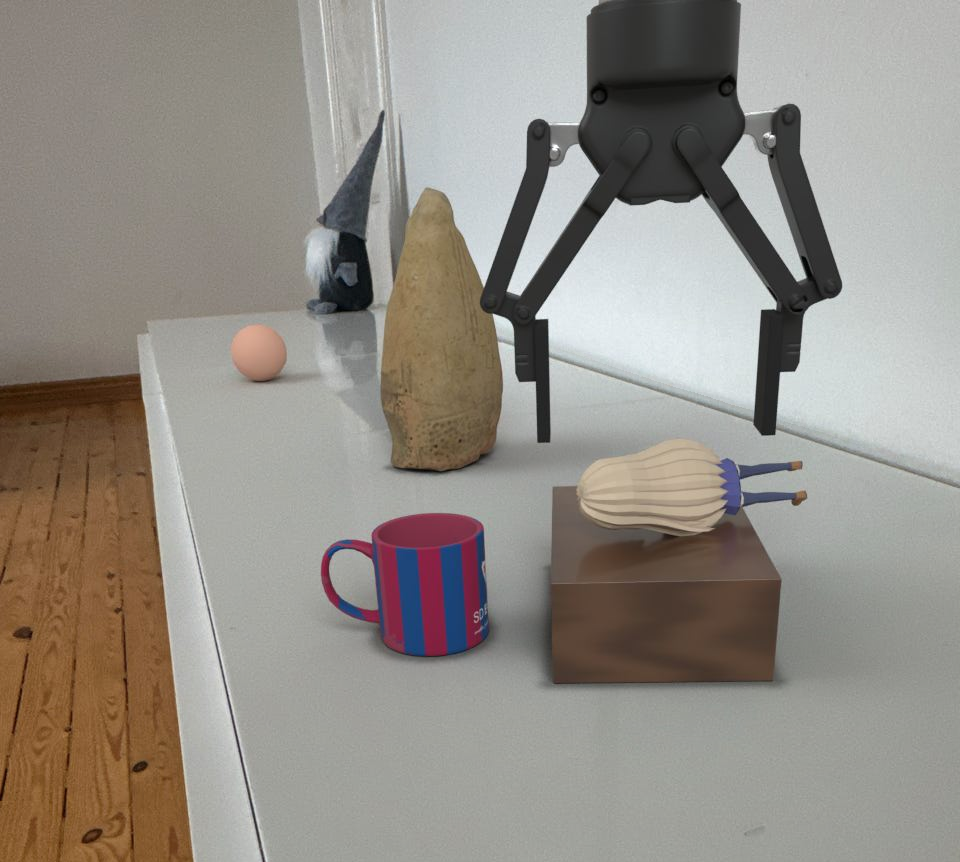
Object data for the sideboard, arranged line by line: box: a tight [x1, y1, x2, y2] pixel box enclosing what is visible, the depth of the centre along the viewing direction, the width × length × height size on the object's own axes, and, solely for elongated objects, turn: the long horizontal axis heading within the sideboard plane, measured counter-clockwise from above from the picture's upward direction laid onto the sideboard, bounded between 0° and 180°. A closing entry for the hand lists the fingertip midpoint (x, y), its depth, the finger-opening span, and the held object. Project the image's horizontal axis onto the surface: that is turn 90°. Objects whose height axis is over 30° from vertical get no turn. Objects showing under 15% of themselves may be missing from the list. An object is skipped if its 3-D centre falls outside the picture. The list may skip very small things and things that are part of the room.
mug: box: [320, 512, 490, 657], centre depth 61 cm, size 7×10×7 cm
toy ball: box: [230, 323, 288, 382], centre depth 145 cm, size 8×8×8 cm
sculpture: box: [379, 187, 504, 472], centre depth 95 cm, size 12×11×25 cm
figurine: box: [576, 438, 808, 536], centre depth 60 cm, size 6×4×15 cm
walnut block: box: [550, 485, 782, 684], centre depth 62 cm, size 12×18×6 cm, turn 176°
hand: (653, 434), depth 58 cm, fingers open, 12 cm apart
